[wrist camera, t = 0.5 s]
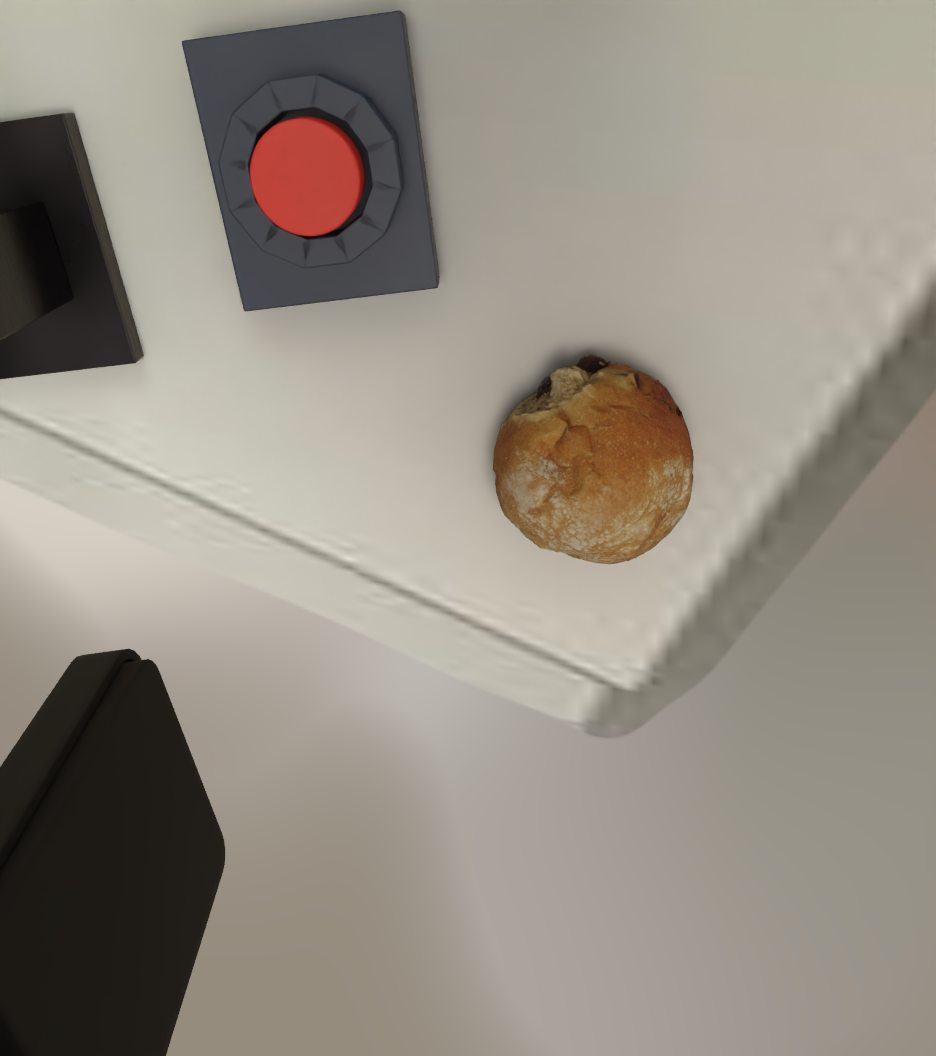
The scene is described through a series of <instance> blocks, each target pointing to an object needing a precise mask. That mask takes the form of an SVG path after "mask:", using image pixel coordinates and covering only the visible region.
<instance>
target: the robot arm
mask: <svg viewBox="0 0 936 1056" xmlns="http://www.w3.org/2000/svg"><path fill="white" fill-rule="evenodd" d="M224 863H225V846H224V839H223V836H222V832H221V830H220V827H219V825H218V822H217V819H216V817H215V814H214V812H213V809H212V807H211V804H210V801H209V799H208V796H207V794H206V791H205V788H204V786H203V783H202V781H201V778H200V775H199V773H198V770H197V768H196V765H195V763H194V760H193V757H192V755H191V752H190V750H189V747H188V745H187V742H186V739H185V737H184V734H183V732H182V729H181V726H180V724H179V721H178V719H177V716H176V714H175V711H174V708H173V706H172V703H171V701H170V698H169V695H168V693H167V690H166V688H165V685H164V683H163V680H162V677H161V675H160V672H159V670H158V668H157V666H156V664H155V663H154V662H153V661H151V660H149V659H147V660H141V658H140V656H139V655H138V654H137V653H136V652H135V651H133V650H131V649H125V650H116V651H109V652H102V653H95V654H87V655H82V656H78V657H76V658H75V659H74V660H73V661H72V662H71V664H70V665H69V667H68V668H67V670H66V671H65V672H64V674H63V676H62V677H61V678H60V680H59V681H58V683H57V684H56V686H55V688H54V689H53V690H52V692H51V693H50V695H49V696H48V698H47V699H46V700H45V702H44V703H43V705H42V706H41V708H40V709H39V711H38V712H37V714H36V715H35V717H34V718H33V720H32V721H31V723H30V724H29V725H28V727H27V728H26V730H25V732H24V733H23V734H22V736H21V737H20V739H19V740H18V742H17V743H16V745H15V746H14V748H13V749H12V750H11V752H10V754H9V755H8V756H7V758H6V759H5V761H4V762H3V764H2V766H1V767H0V1056H166V1053H167V1050H168V1047H169V1044H170V1040H171V1037H172V1034H173V1031H174V1027H175V1024H176V1021H177V1018H178V1014H179V1011H180V1008H181V1005H182V1002H183V998H184V995H185V992H186V989H187V986H188V982H189V979H190V976H191V972H192V969H193V966H194V963H195V960H196V956H197V953H198V950H199V947H200V944H201V940H202V937H203V934H204V930H205V928H206V924H207V921H208V918H209V915H210V911H211V908H212V905H213V902H214V899H215V895H216V892H217V889H218V886H219V882H220V879H221V876H222V873H223V868H224Z"/></svg>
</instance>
